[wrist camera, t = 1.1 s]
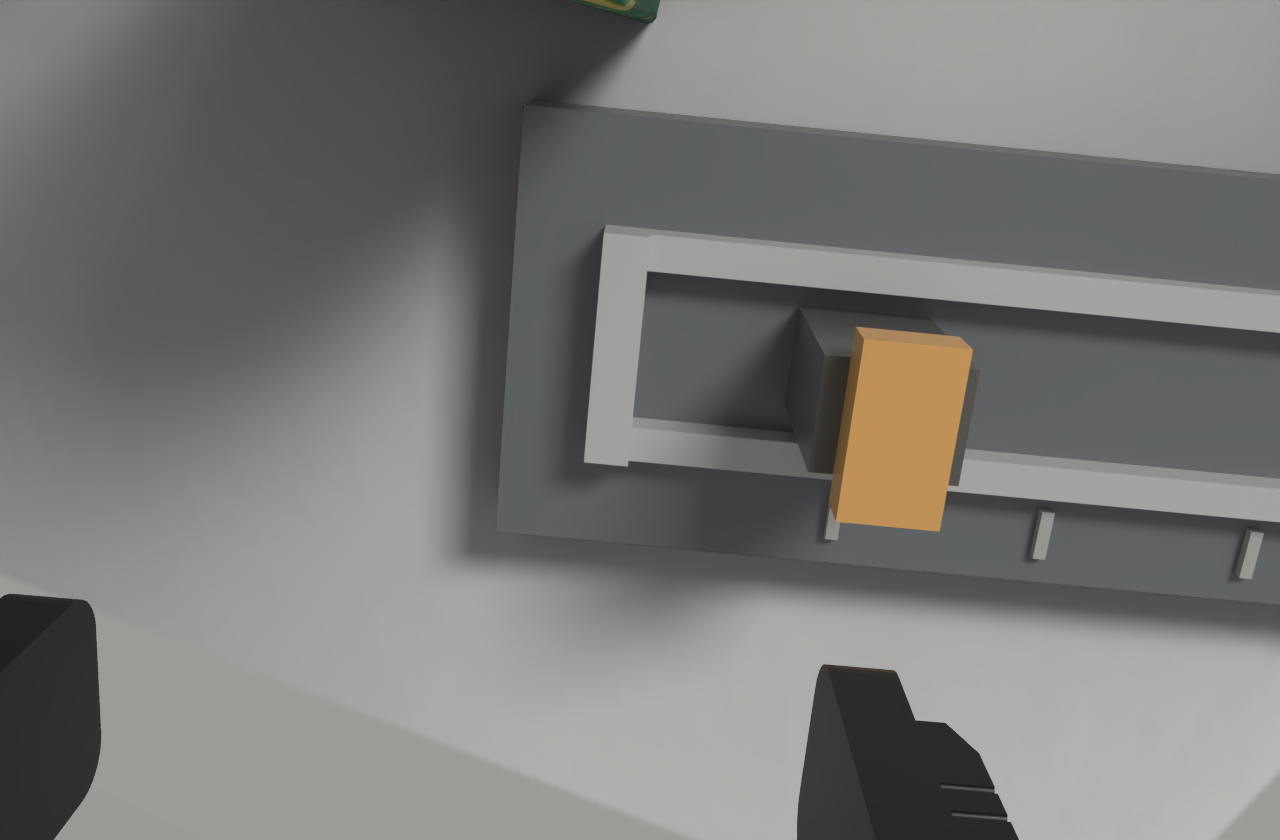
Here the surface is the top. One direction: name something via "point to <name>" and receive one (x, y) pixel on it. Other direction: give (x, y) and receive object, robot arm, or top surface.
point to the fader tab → (881, 413)
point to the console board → (901, 286)
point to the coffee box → (627, 8)
